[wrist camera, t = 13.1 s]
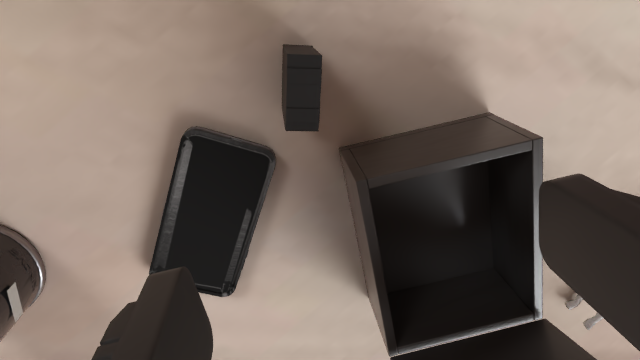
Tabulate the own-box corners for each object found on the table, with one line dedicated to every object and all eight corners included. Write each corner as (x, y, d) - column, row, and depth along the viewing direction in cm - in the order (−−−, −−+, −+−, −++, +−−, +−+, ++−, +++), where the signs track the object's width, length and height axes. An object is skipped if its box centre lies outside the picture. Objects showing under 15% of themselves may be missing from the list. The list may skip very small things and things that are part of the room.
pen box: (338, 147, 37) (355, 182, 29) (489, 112, 37) (543, 137, 30) (369, 299, 43) (389, 357, 36) (497, 267, 43) (543, 318, 36)
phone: (146, 281, 38) (183, 126, 33) (150, 274, 39) (186, 122, 34) (233, 299, 40) (280, 154, 35) (234, 291, 41) (280, 150, 36)
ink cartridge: (309, 107, 35) (320, 134, 28) (281, 106, 35) (285, 133, 27) (311, 45, 33) (324, 55, 26) (282, 43, 33) (287, 54, 25)
